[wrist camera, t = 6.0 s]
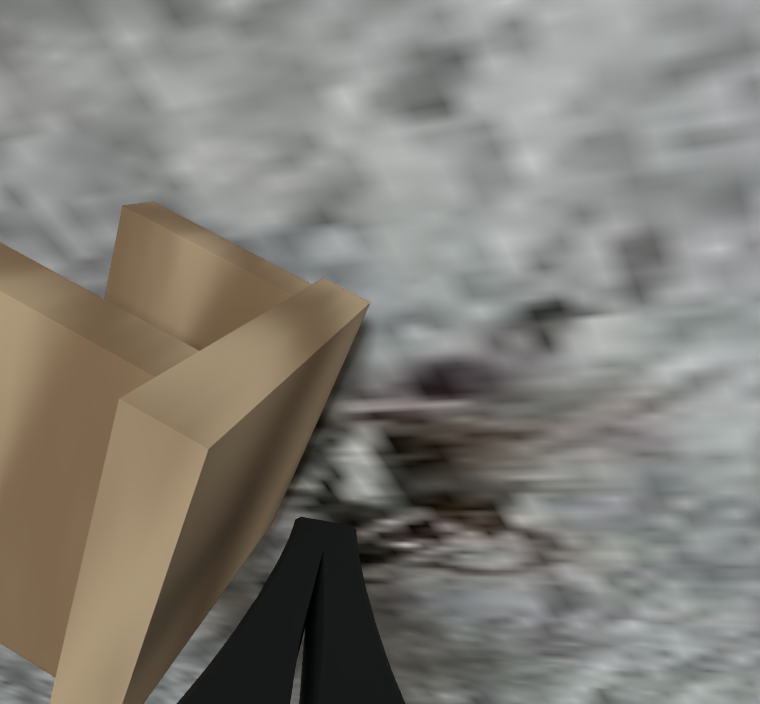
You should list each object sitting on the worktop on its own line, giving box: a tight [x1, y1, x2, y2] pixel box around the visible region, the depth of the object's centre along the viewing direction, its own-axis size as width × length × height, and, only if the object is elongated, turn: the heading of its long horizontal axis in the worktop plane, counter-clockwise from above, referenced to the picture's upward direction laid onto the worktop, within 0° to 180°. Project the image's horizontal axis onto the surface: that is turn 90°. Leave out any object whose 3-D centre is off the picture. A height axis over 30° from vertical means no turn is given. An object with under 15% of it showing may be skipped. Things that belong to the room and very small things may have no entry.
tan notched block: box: [0, 202, 370, 704], centre depth 13 cm, size 8×9×6 cm
